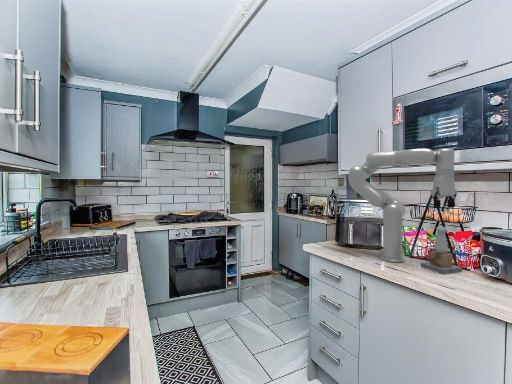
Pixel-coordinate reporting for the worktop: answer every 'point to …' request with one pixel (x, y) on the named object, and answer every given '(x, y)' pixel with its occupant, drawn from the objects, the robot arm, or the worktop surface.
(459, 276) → the worktop surface
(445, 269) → the slab
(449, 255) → the walnut block
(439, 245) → the salt shaker
